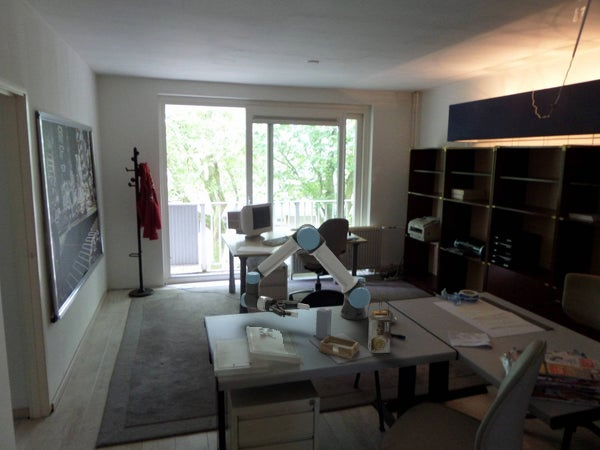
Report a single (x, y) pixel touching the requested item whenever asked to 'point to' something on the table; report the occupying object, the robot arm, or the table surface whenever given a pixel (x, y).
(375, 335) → the coffee box
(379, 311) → the multimeter
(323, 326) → the blue-grey rectangular block
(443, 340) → the table surface
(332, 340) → the pocket tray
